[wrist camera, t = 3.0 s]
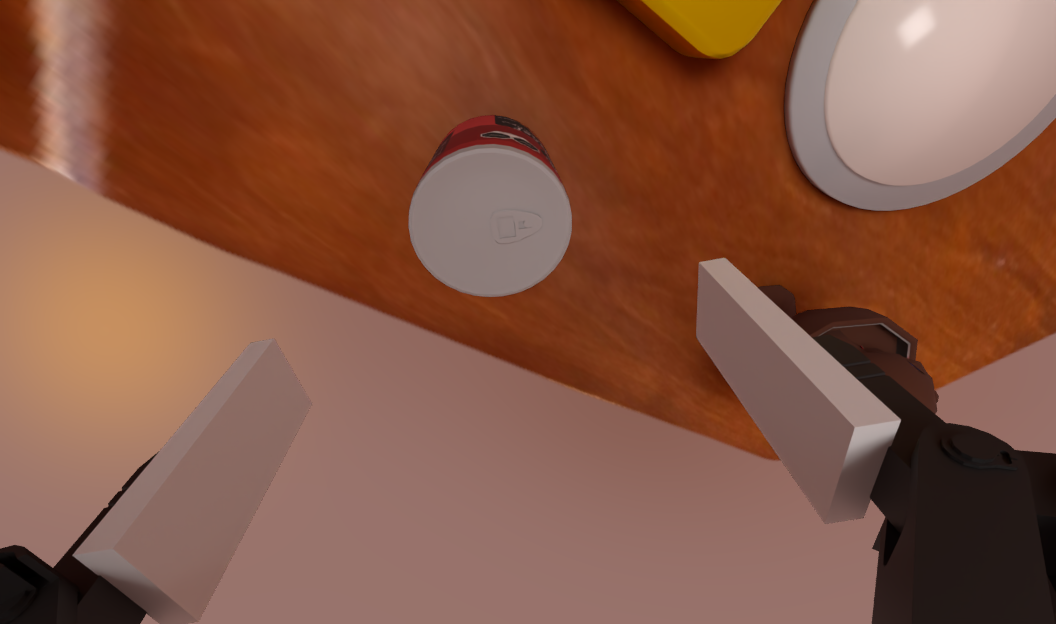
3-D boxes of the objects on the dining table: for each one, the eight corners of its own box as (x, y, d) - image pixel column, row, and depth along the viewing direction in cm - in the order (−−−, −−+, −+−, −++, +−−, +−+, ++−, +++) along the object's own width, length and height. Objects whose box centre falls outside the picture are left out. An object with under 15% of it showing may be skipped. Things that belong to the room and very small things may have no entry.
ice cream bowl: (677, 310, 37) (771, 448, 25) (801, 228, 34) (984, 339, 21) (731, 380, 42) (833, 527, 29) (844, 315, 39) (1016, 448, 26)
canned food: (565, 199, 32) (594, 264, 22) (466, 242, 33) (454, 320, 24) (523, 90, 28) (537, 114, 19) (413, 144, 29) (374, 191, 20)
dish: (767, 228, 34) (778, 235, 33) (811, -122, 23) (830, -131, 22) (1031, 180, 33) (1053, 185, 32) (1198, -203, 23) (1240, -217, 21)
